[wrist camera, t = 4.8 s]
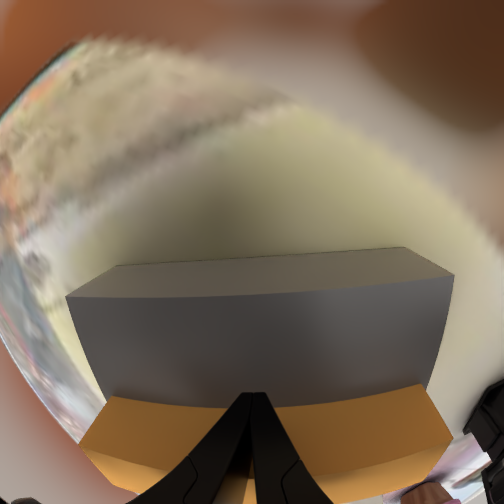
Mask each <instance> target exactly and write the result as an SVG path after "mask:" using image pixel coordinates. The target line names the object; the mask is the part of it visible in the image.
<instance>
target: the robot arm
mask: <svg viewBox="0 0 504 504" xmlns="http://www.w3.org/2000/svg"><path fill="white" fill-rule="evenodd" d="M470 432H472V434H473V435H474V437H475V438H476V440H477V442H478V444H479V445H480V447H481V449H482V450H483V452H487V453H488V455H489V457H490V459H491V460H492V463H491V464H490V465H489V466H488V467H487V468H485V469H484V470H483V471H481V474H482V480H483V484H484V488H485V492H486V497H487V502H488V504H504V467H503V466H504V380H502V381H500V382H498V383H497V384H495V385H493V386H491V387H489V388H488V389H487V390H486V391H485V393H484V395H483V397H482V399H481V401H480V403H479V404H478V406H477V408H476V410H475V412H474V414H473V415H472V417H471V419H470V421H469V422H468V424H467V426H466V427H465V429H464V430H463V433H464V435H466V434H468V433H470ZM252 457H253V468H254V480H255V491H256V502H257V504H334V503H333V502H332V501H331V500H330V499H329V497H328V496H327V495H326V494H325V493H324V492H323V491H322V489H321V488H320V487H319V486H318V484H317V483H316V482H315V480H314V479H313V478H312V476H311V475H310V473H309V471H308V470H307V468H306V467H305V465H304V463H303V461H302V460H301V459H300V456H299V454H298V452H297V451H296V449H295V447H294V445H293V443H292V442H291V440H290V438H289V436H288V434H287V432H286V430H285V428H284V427H283V425H282V423H281V421H280V419H279V417H278V415H277V413H276V411H275V409H274V407H273V405H272V403H271V401H270V399H269V397H268V396H267V394H266V392H254V393H253V392H241V393H240V394H239V396H238V397H237V398H236V399H235V401H234V402H233V403H232V404H231V405H230V407H229V408H228V409H227V410H226V412H225V413H224V414H223V415H222V416H221V417H220V419H219V420H218V421H217V422H216V423H215V424H214V426H213V427H212V428H211V429H210V430H209V431H208V433H207V434H206V435H205V436H204V437H203V438H202V439H201V440H200V442H199V443H198V444H197V445H196V446H195V447H194V448H193V449H192V450H191V451H190V452H189V454H188V456H186V457H185V458H184V459H183V460H182V461H181V462H180V463H179V464H178V465H177V466H176V467H175V468H174V469H173V470H172V471H171V472H169V473H168V474H167V475H166V476H165V477H163V478H162V479H161V480H160V481H158V482H157V483H156V484H154V485H153V486H152V487H150V488H149V489H147V490H146V491H145V492H143V493H142V494H140V495H139V496H137V497H136V498H135V499H133V500H131V501H130V502H128V503H126V504H243V500H244V496H245V491H246V486H247V482H248V477H249V472H250V467H251V462H252ZM0 504H8V503H7V502H6V501H5V500H3V499H2V498H1V497H0ZM11 504H41V503H40V502H38V501H37V500H35V499H33V498H31V497H30V498H20V499H16V500H14V501H12V502H11Z"/></svg>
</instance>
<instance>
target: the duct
mask: <svg viewBox="0 0 504 504" xmlns="http://www.w3.org/2000/svg"><path fill="white" fill-rule="evenodd" d="M453 282H454V274H452V273H450V272H449V271H447V270H445V269H443V268H442V267H440V266H438V265H436V264H435V263H433V262H431V261H429V260H427V259H426V258H424V257H422V256H420V255H418V254H416V253H414V252H413V251H411V250H409V249H407V248H405V247H398V248H384V249H370V250H356V251H342V252H327V253H312V254H298V255H283V256H267V257H252V258H236V259H220V260H204V261H188V262H171V263H154V264H137V265H120V266H115V267H113V268H112V269H110V270H108V271H106V272H105V273H103V274H101V275H100V276H98V277H96V278H95V279H93V280H91V281H90V282H88V283H86V284H85V285H83V286H81V287H80V288H78V289H76V290H75V291H73V292H71V293H70V294H68V295H67V296H65V297H66V301H67V304H68V307H69V311H70V314H71V317H72V320H73V323H74V326H75V329H76V332H77V334H78V337H79V340H80V343H81V345H82V348H83V350H84V353H85V355H86V358H87V360H88V363H89V365H90V367H91V370H92V372H93V374H94V376H95V378H96V381H97V383H98V385H99V387H100V389H101V391H102V393H103V395H104V397H105V399H106V401H108V400H109V399H110V397H111V396H115V397H120V398H126V399H132V400H138V401H144V402H151V403H159V404H167V405H177V406H188V407H203V408H229V407H230V405H231V404H232V403H233V402H234V401H235V399H236V398H237V397H238V396H239V394H240V393H241V392H253V393H254V392H266V394H267V396H268V397H269V399H270V401H271V403H272V405H273V407H274V408H278V407H293V406H304V405H314V404H323V403H330V402H337V401H344V400H350V399H356V398H361V397H367V396H372V395H377V394H381V393H386V392H390V391H394V390H398V389H402V388H406V387H410V386H413V385H417V384H420V383H421V384H422V386H423V387H424V389H425V391H426V388H427V386H428V383H429V380H430V377H431V374H432V371H433V368H434V365H435V362H436V358H437V355H438V352H439V348H440V344H441V341H442V337H443V333H444V329H445V324H446V320H447V315H448V311H449V306H450V300H451V294H452V288H453Z"/></svg>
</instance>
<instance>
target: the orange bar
mask: <svg viewBox="0 0 504 504" xmlns="http://www.w3.org/2000/svg"><path fill="white" fill-rule="evenodd" d="M227 409H228V408H203V407H188V406H177V405H167V404H159V403H151V402H144V401H138V400H132V399H126V398H120V397H115V396H111V397H110V399H109V400H108V401H107V403H106V404H105V406H104V407H103V409H102V410H101V412H100V413H99V414H98V416H97V417H96V419H95V420H94V422H93V423H92V425H91V426H90V428H89V429H88V431H87V432H86V434H85V435H84V436H83V438H82V439H81V441H80V442H79V444H78V445H79V447H80V448H81V449H82V450H83V452H84V453H85V454H86V455H87V456H88V457H89V459H90V460H91V461H92V462H93V463H94V465H95V466H96V467H97V468H98V469H99V470H100V471H101V472H102V473H103V475H104V476H106V478H107V479H108V480H109V481H110V482H111V483H112V484H113V485H115V486H118V487H121V488H124V489H127V490H130V491H133V492H137V493H140V494H142V493H143V492H145V491H146V490H147V489H149V488H150V487H152V486H153V485H154V484H156V483H157V482H158V481H160V480H161V479H162V478H163V477H165V476H166V475H167V474H168V473H169V472H171V471H172V470H173V469H174V468H175V467H176V466H177V465H178V464H179V463H180V462H181V461H182V460H183V459H184V458H185V457H186V456H188V454H189V452H190V451H191V450H192V449H193V448H194V447H195V446H196V445H197V444H198V443H199V442H200V440H201V439H202V438H203V437H204V436H205V435H206V434H207V433H208V431H209V430H210V429H211V428H212V427H213V426H214V424H215V423H216V422H217V421H218V420H219V419H220V417H221V416H222V415H223V414H224V413H225V412H226V410H227ZM274 409H275V411H276V413H277V415H278V417H279V419H280V421H281V423H282V425H283V427H284V428H285V430H286V432H287V434H288V436H289V438H290V440H291V442H292V443H293V445H294V447H295V449H296V451H297V452H298V454H299V456H300V459H301V460H302V461H303V463H304V465H305V467H306V468H307V470H308V471H309V473H310V475H311V476H312V478H313V479H314V480H315V482H316V483H317V484H318V486H319V487H320V488H321V489H322V491H323V492H324V493H325V494H326V495H327V496H328V497H329V499H330V500H331V501H332V502H333V503H334V504H343V503H348V502H353V501H358V500H362V499H366V498H371V497H374V496H378V495H382V494H386V493H389V492H392V491H396V490H399V489H402V488H405V487H408V486H411V485H413V484H416V483H419V482H421V481H423V480H424V479H425V478H426V476H427V475H428V474H429V473H430V471H431V470H432V469H433V467H434V466H435V465H436V463H437V462H438V460H439V459H440V458H441V456H442V455H443V453H444V452H445V450H446V449H447V447H448V446H449V444H450V443H451V441H452V440H453V436H452V435H451V433H450V431H449V429H448V427H447V426H446V424H445V422H444V421H443V419H442V417H441V415H440V414H439V412H438V410H437V409H436V407H435V405H434V404H433V402H432V400H431V399H430V397H429V395H428V394H427V392H426V391H425V389H424V387H423V386H422V384H421V383H420V384H417V385H413V386H410V387H406V388H402V389H398V390H394V391H390V392H386V393H381V394H377V395H372V396H367V397H361V398H356V399H350V400H344V401H337V402H330V403H323V404H314V405H304V406H293V407H278V408H274ZM243 504H257V502H256V491H255V480H254V468H253V457H252V462H251V467H250V472H249V477H248V482H247V486H246V491H245V496H244V500H243Z"/></svg>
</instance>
